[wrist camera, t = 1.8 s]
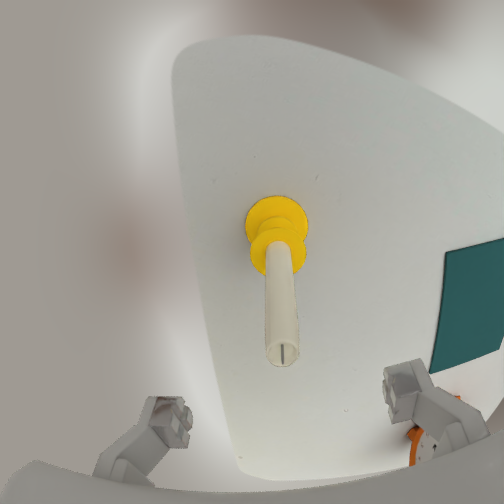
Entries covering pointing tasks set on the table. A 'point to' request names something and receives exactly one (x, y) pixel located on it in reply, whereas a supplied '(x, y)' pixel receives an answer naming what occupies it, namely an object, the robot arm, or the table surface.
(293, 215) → the candle
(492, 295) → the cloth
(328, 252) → the table surface
